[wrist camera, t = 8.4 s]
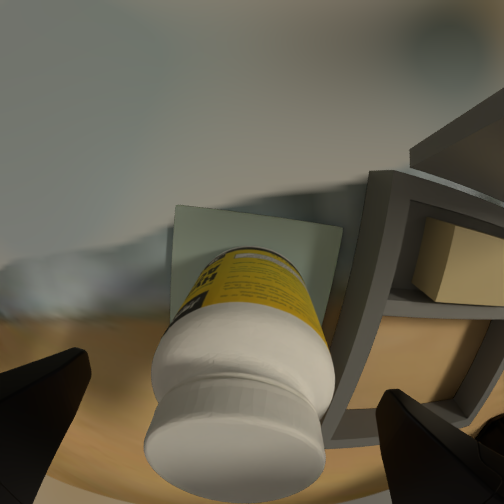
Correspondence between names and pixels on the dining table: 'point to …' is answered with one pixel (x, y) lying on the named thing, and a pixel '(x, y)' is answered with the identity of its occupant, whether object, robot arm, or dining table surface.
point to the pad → (251, 234)
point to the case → (418, 291)
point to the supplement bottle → (242, 383)
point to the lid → (468, 149)
